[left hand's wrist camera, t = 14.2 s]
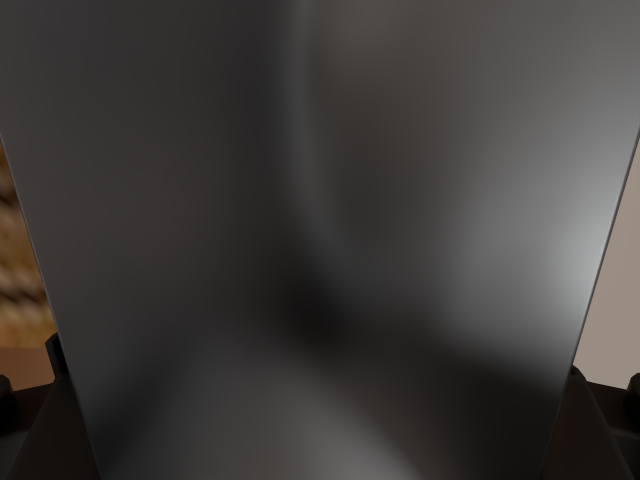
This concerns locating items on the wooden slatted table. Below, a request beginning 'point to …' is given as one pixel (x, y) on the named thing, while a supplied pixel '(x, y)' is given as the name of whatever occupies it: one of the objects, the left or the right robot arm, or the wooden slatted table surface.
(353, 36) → the box
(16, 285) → the wooden slatted table surface
